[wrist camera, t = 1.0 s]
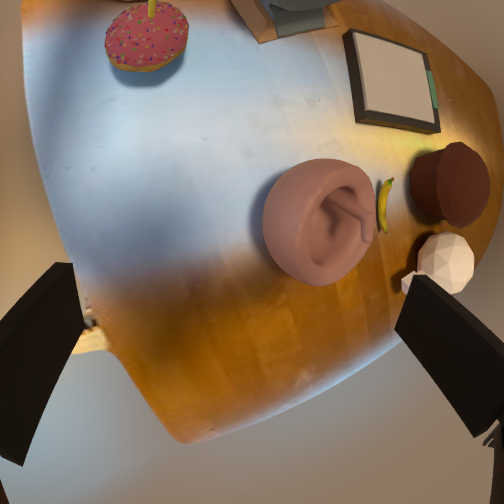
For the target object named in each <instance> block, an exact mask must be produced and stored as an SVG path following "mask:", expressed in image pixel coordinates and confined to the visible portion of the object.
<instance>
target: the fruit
mask: <svg viewBox="0 0 504 504" xmlns="http://www.w3.org/2000/svg"><path fill="white" fill-rule="evenodd" d="M392 181H394V178H393V177H392V178H391V179H389V180H386V181H385V182H384V184H383V186H382V189H381V191H380V194H379V198H378V209H377V211H378V220H379V224H380V226H381V228H382V230H383V232H384V233H385V234H387V225H386V202H387V197H388V193H389V191H390V189H391V187H392Z"/></svg>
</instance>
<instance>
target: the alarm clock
mask: <svg viewBox="0 0 504 504" xmlns="http://www.w3.org/2000/svg"><path fill="white" fill-rule="evenodd" d="M230 1H231V2H232V4H233V5H234V7H235V8H236V10H237V11H238V12H239V14H240V15H241V17H242V18H243V20H244V21H245V23H246V24H247V26H248V27H249V29H250V31H251V32H252V34H253V35H254V37H255V38H256V40H257V42H258V43H259V44H261V43H264V42H267V41H271V40H275V39H279V38H282V37H286V36H290V35H295V34H299V33H303V32H308V31H313V30H318V29H323V28H329V27H335V26H338V24H337V22H336V21H335V19H334V18H333V16H332V15H331V13H330V12H329V10H328V9H327V8H326V6H327V5H331V4H333V3H336V2H339V1H341V0H230Z"/></svg>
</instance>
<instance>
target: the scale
mask: <svg viewBox="0 0 504 504" xmlns="http://www.w3.org/2000/svg"><path fill="white" fill-rule="evenodd" d="M343 40H344V45H345V51H346V56H347V62H348V68H349V75H350V81H351V88H352V96H353V104H354V112H355V121H356V122H359V123H367V124H374V125H381V126H388V127H394V128H400V129H405V130H411V131H416V132H421V133H426V134H436V133H441V128H440V120H439V113H438V109H439V108H438V102H437V96H436V90H435V85H434V80H433V75H432V72H431V70H430V66H429V61H428V57H427V54H426V53H424V52H421V51H419V50H416V49H414V48H411V47H409V46H406V45H403V44H401V43H398V42H395V41H392V40H389V39H386V38H383V37H380V36H377V35H374V34H370V33H367V32H363V31H360V30H356V29H352V28H351V29H349V30H348V31H347V32H346V33H345V34H343Z"/></svg>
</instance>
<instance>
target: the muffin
mask: <svg viewBox="0 0 504 504" xmlns="http://www.w3.org/2000/svg"><path fill="white" fill-rule="evenodd" d="M409 175H410V194H411V195H412V197H413V199H414V200H415V202H416V205H417V207H418V209H419V210H422V211H425V212H427V213H429V214H430V215H433V216H436V217H439V218H441V219H444V220H447V221H448V223H449V224H450V225H452V226H454V227H457V228H460V229H462V228H464V227H466V226H468V225H470V224H471V223H472V222H474V221H475V220H476V219H477V218H478V217H479V216H480V215H481V213H482V212H483V210H484V208H485V207H486V205H487V202H488V198H489V194H490V179H489V174H488V170H487V167H486V165H485V163H484V162H483V160H482V158H481V156H480V155H479V154H478V153H477V152H475V151H474V150H472V149H471V148H470V147H468V146H467V145H465V144H464V143H462V142H455V143H450V144H449V145H447V146H446V148H444V149H441V150H438V151H435V152H431V153H428V154H426V155H424V156H422V157H419V158H416V160H415V163H414V166H413V168H412V170H411V171H410V173H409Z"/></svg>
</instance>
